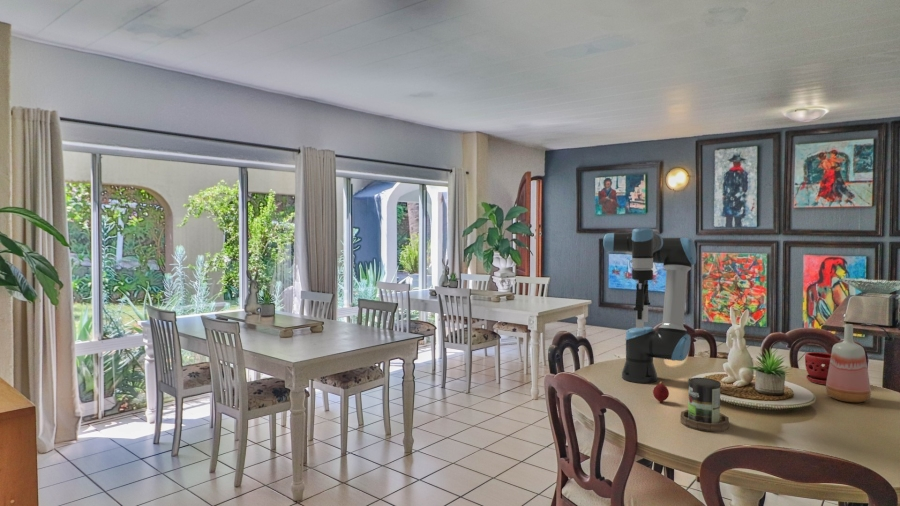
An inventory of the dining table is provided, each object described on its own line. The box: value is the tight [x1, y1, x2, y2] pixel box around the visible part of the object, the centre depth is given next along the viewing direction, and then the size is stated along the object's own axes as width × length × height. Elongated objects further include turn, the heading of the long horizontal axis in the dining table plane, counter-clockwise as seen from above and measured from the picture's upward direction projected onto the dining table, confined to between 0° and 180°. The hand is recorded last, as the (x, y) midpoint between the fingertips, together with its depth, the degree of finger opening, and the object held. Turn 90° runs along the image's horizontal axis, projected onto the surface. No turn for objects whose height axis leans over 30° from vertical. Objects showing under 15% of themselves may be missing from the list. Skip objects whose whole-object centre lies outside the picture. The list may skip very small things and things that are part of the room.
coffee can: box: [687, 377, 722, 423], centre depth 195 cm, size 10×10×14 cm
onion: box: [652, 381, 670, 403], centre depth 219 cm, size 6×6×8 cm
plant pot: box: [804, 351, 831, 386], centre depth 243 cm, size 13×13×12 cm
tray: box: [680, 409, 730, 433], centre depth 196 cm, size 15×15×3 cm
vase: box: [825, 323, 872, 404], centre depth 219 cm, size 14×14×30 cm
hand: (642, 324), depth 213 cm, fingers open, 13 cm apart
